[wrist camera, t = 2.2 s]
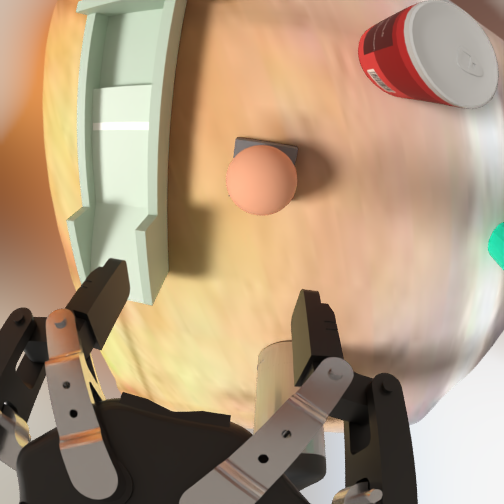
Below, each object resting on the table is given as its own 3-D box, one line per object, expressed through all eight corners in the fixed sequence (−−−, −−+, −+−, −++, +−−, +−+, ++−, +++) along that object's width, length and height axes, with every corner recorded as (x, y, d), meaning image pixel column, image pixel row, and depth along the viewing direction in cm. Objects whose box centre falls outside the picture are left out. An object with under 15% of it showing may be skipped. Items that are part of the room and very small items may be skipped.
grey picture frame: (296, 146, 24) (298, 149, 23) (286, 200, 27) (286, 205, 26) (237, 137, 24) (235, 139, 23) (230, 191, 27) (228, 196, 26)
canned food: (427, 103, 20) (499, 121, 11) (355, 91, 21) (410, 93, 12) (425, 36, 16) (495, 25, 7) (352, 18, 17) (401, -18, 7)
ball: (299, 145, 24) (308, 161, 19) (288, 204, 27) (292, 233, 22) (234, 135, 24) (224, 147, 19) (227, 195, 27) (217, 221, 22)
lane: (187, -2, 16) (165, -24, 11) (168, 275, 33) (153, 309, 28) (105, 9, 16) (70, -1, 11) (106, 263, 33) (84, 292, 28)
